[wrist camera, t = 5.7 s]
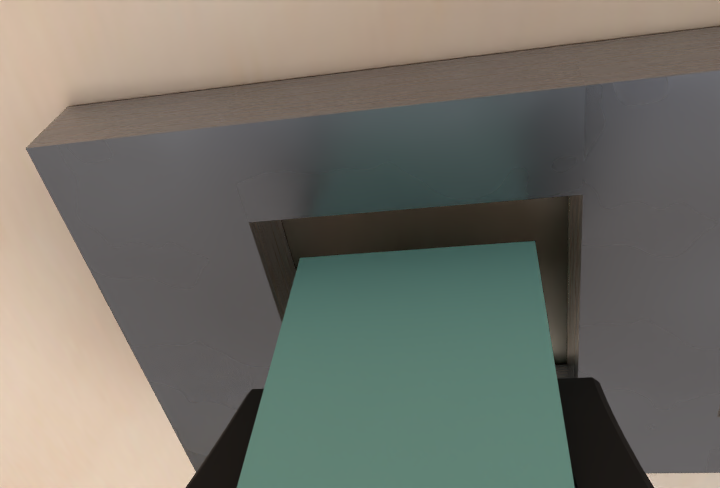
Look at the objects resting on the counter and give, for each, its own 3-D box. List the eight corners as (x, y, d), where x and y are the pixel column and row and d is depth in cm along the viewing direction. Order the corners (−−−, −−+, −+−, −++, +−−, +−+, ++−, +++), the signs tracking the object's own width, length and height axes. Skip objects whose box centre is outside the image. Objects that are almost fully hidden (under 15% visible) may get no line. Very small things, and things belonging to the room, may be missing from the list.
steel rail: (1517, -72, 8) (1694, -40, 7) (1147, 404, 14) (1213, 468, 12) (67, 107, 12) (25, 148, 11) (215, 425, 17) (198, 476, 16)
